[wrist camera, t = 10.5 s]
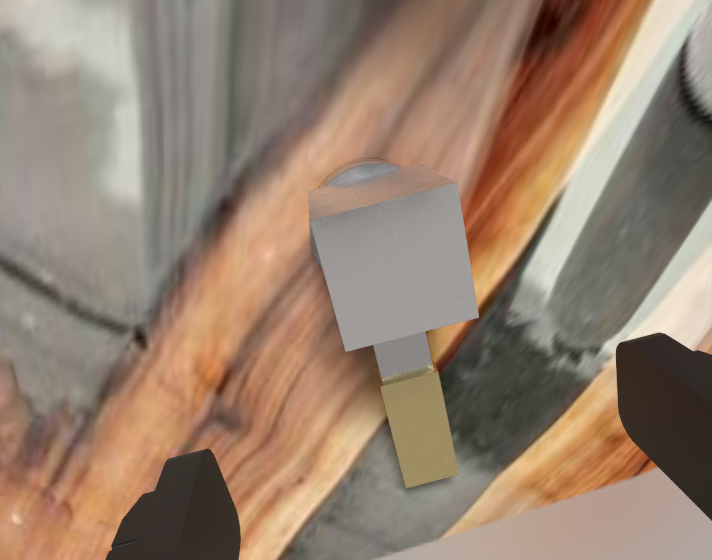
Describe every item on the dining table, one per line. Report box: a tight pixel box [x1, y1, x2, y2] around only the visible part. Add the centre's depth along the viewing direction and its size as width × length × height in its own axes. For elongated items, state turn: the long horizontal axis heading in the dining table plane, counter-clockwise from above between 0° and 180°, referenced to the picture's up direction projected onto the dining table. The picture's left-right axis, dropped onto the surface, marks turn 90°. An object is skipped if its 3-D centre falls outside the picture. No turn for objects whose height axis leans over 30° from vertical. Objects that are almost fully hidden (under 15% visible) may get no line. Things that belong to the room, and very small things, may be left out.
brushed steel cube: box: [308, 163, 479, 352], centre depth 23 cm, size 6×6×7 cm
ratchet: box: [309, 158, 459, 488], centre depth 28 cm, size 21×7×8 cm, turn 13°
